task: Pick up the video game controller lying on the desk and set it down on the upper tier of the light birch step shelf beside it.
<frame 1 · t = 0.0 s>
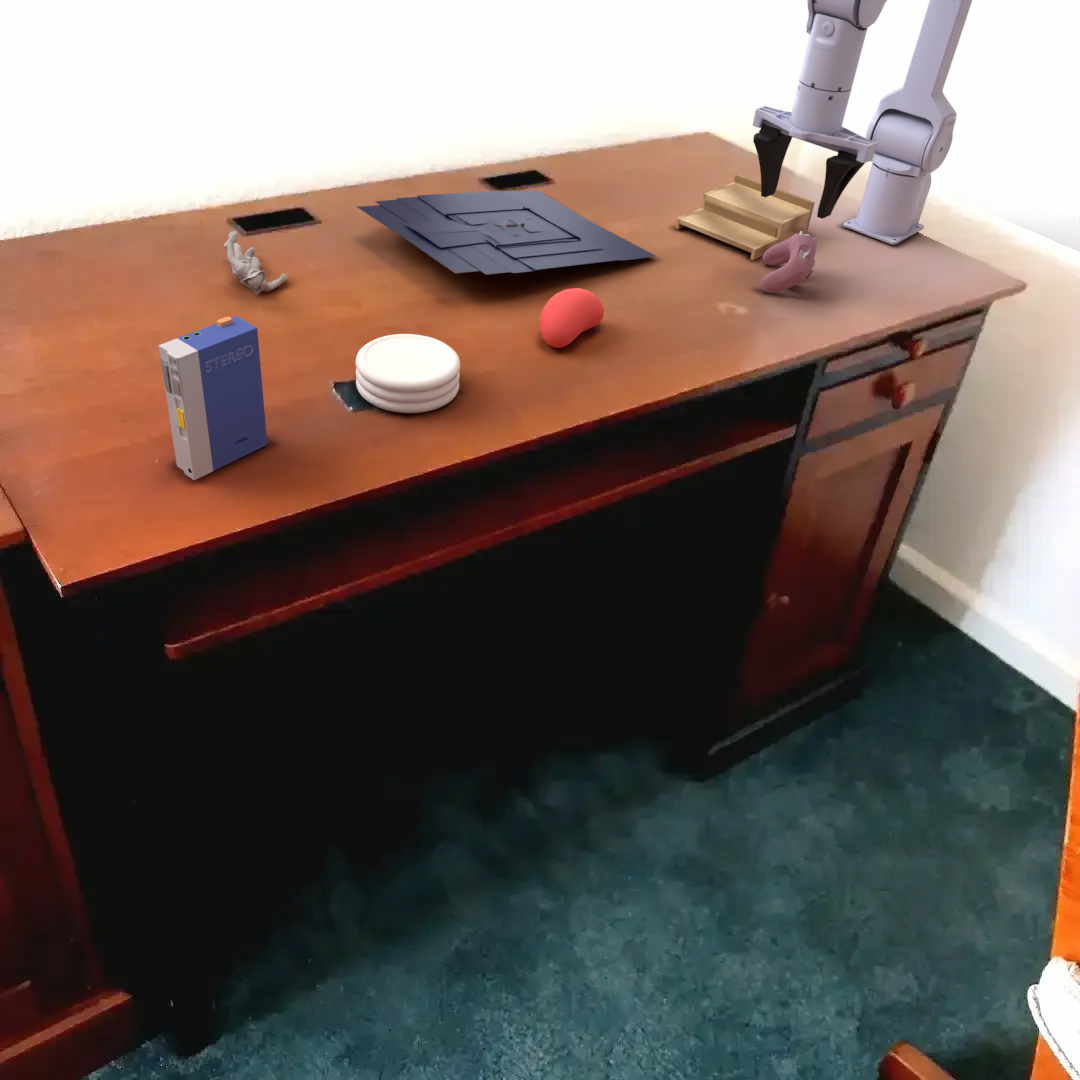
hand: (795, 205, 124), 10 cm above the table, tool pointing down, fingers open, 7 cm apart
coaster: (407, 390, 104), on the table
soldier figure: (249, 283, 118), on the table
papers: (503, 248, 132), on the table
step shelf: (741, 231, 143), on the table
red kidney bean: (568, 336, 116), on the table
video game controller: (782, 282, 131), on the table
walkman: (223, 457, 93), on the table
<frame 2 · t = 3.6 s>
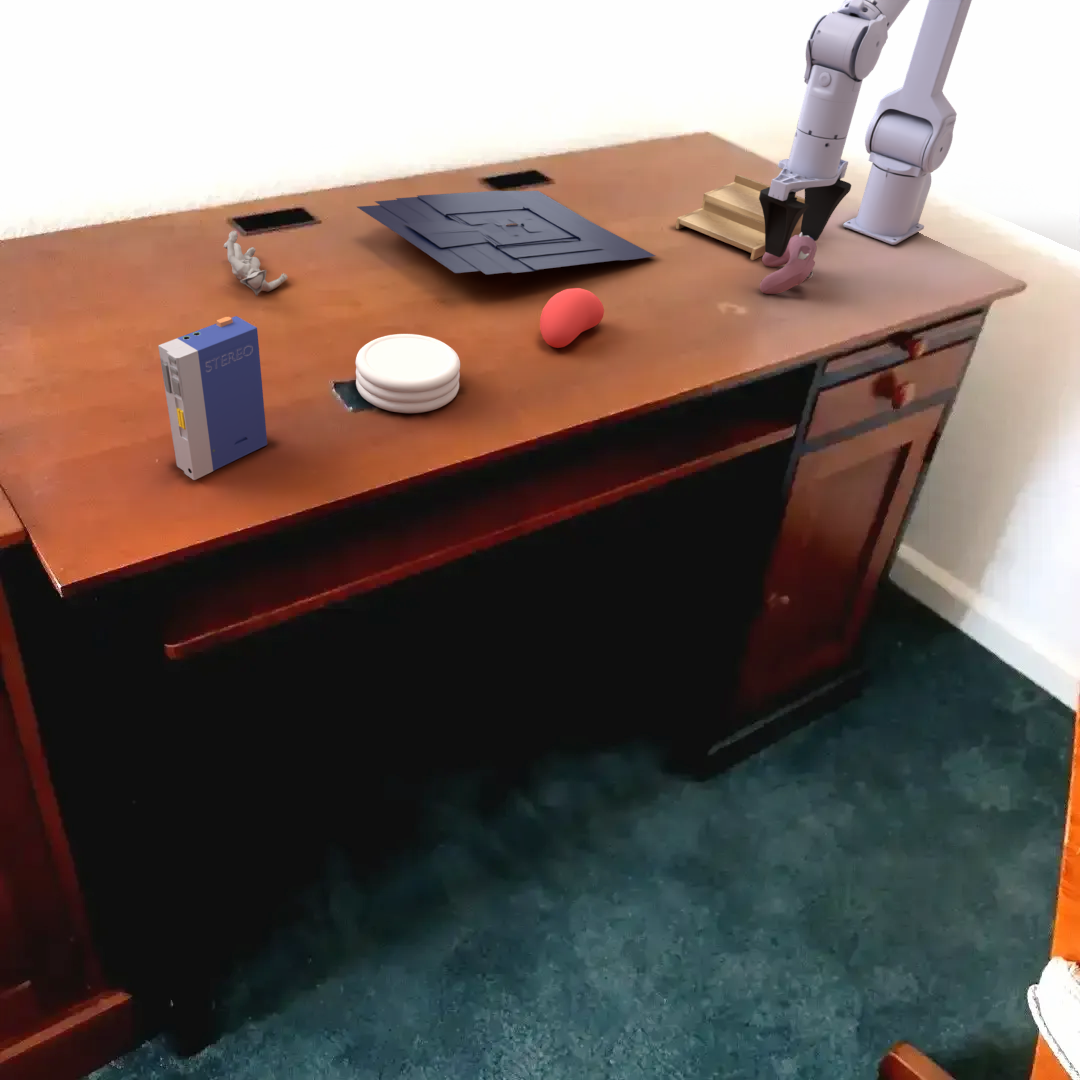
hand: (791, 246, 128), 5 cm above the table, tool pointing down, fingers open, 7 cm apart
video game controller: (782, 283, 131), on the table, touching gripper
everything else where it was.
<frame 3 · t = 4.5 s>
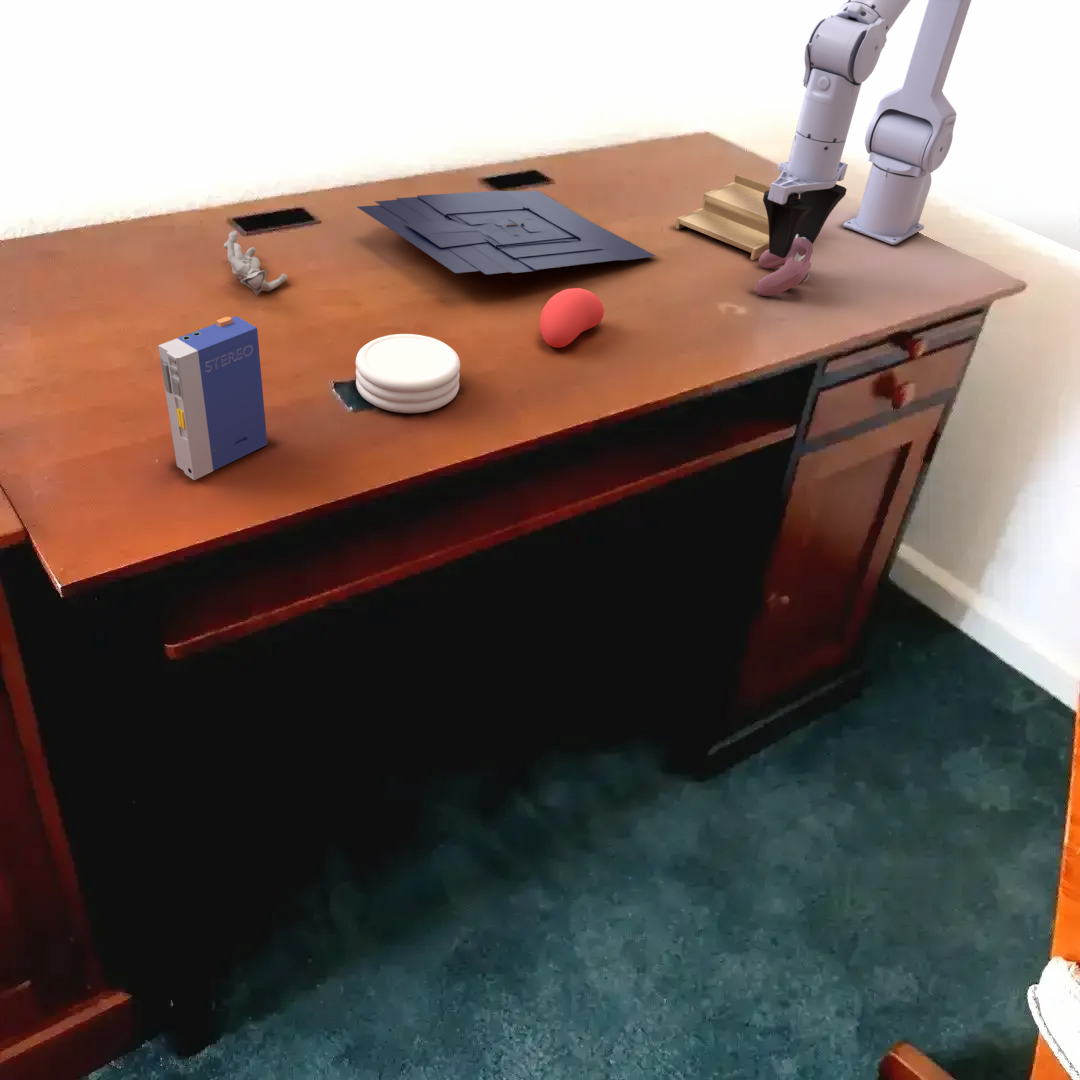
hand: (791, 248, 129), 4 cm above the table, tool pointing down, fingers closed on video game controller, 6 cm apart
video game controller: (778, 285, 131), on the table, touching gripper
everything else where it was.
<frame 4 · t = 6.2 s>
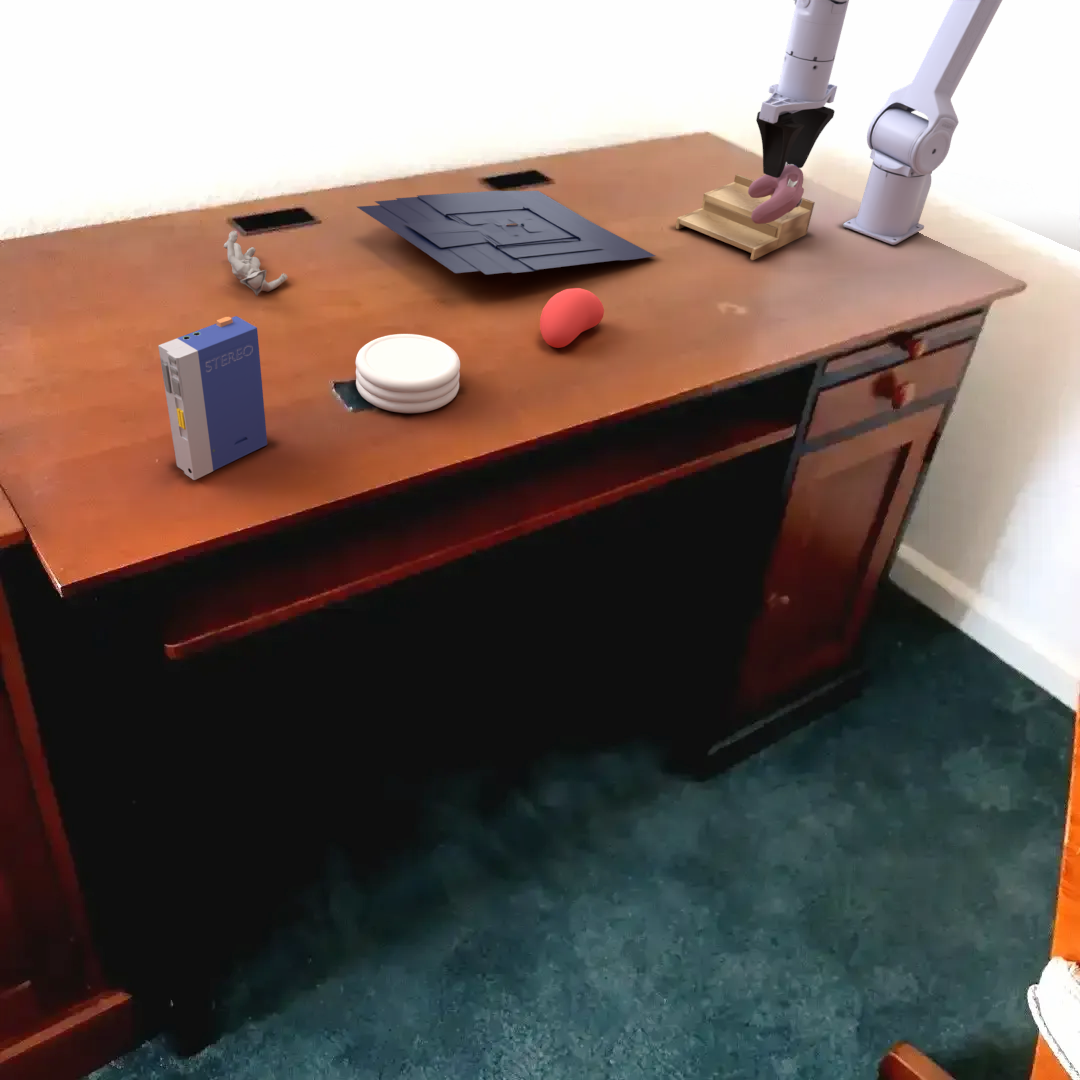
hand: (783, 170, 132), 10 cm above the table, tool pointing down, fingers closed on video game controller, 5 cm apart
video game controller: (771, 213, 134), point 5 cm above the table, touching gripper
everything else where it was.
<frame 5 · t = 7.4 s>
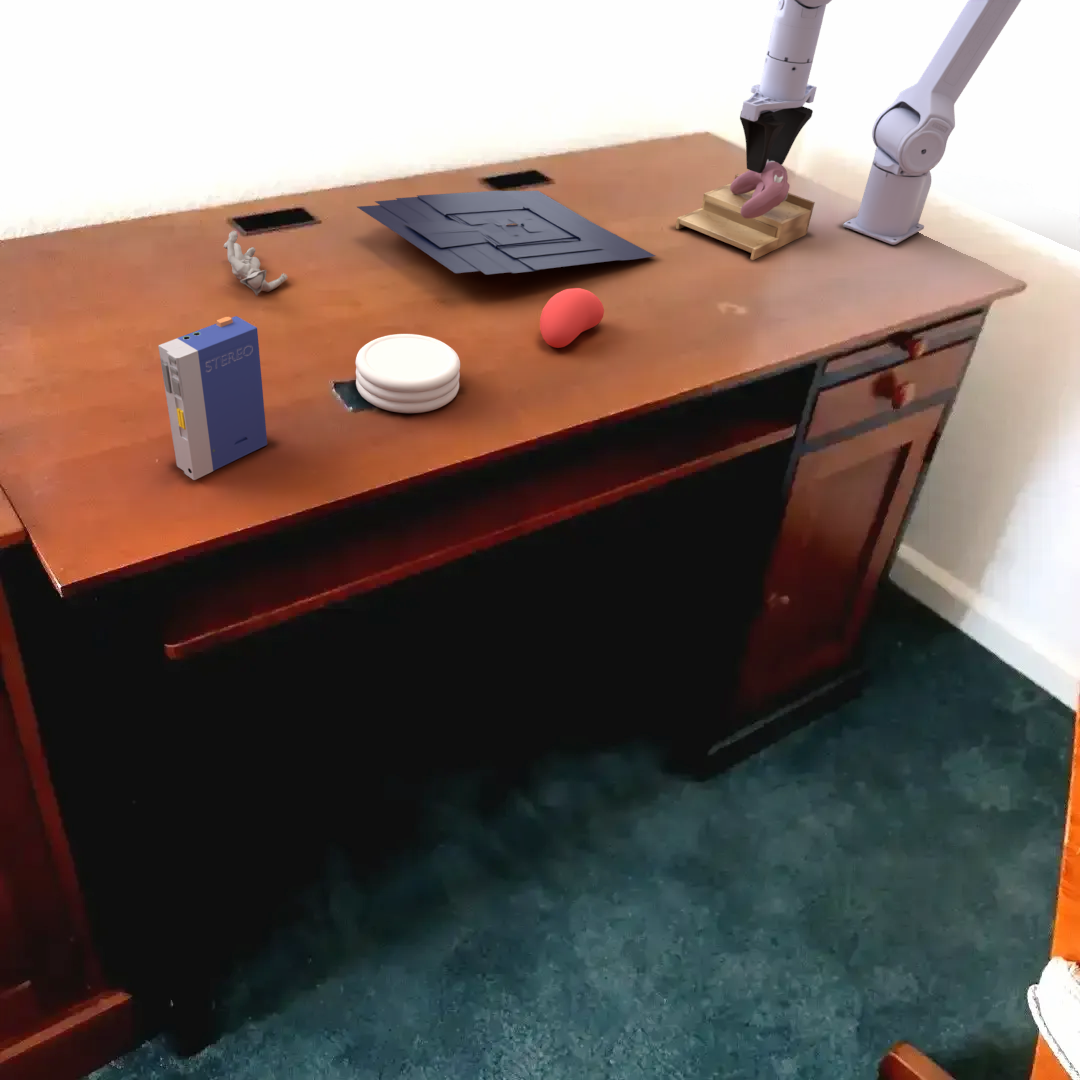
hand: (764, 166, 139), 8 cm above the table, tool pointing down, fingers closed on video game controller, 4 cm apart
video game controller: (755, 208, 140), point 3 cm above the table, touching gripper, step shelf
everything else where it was.
when the fingers open (8 cm above the table, at t = 7.7 s): video game controller stays where it is, resting on step shelf.
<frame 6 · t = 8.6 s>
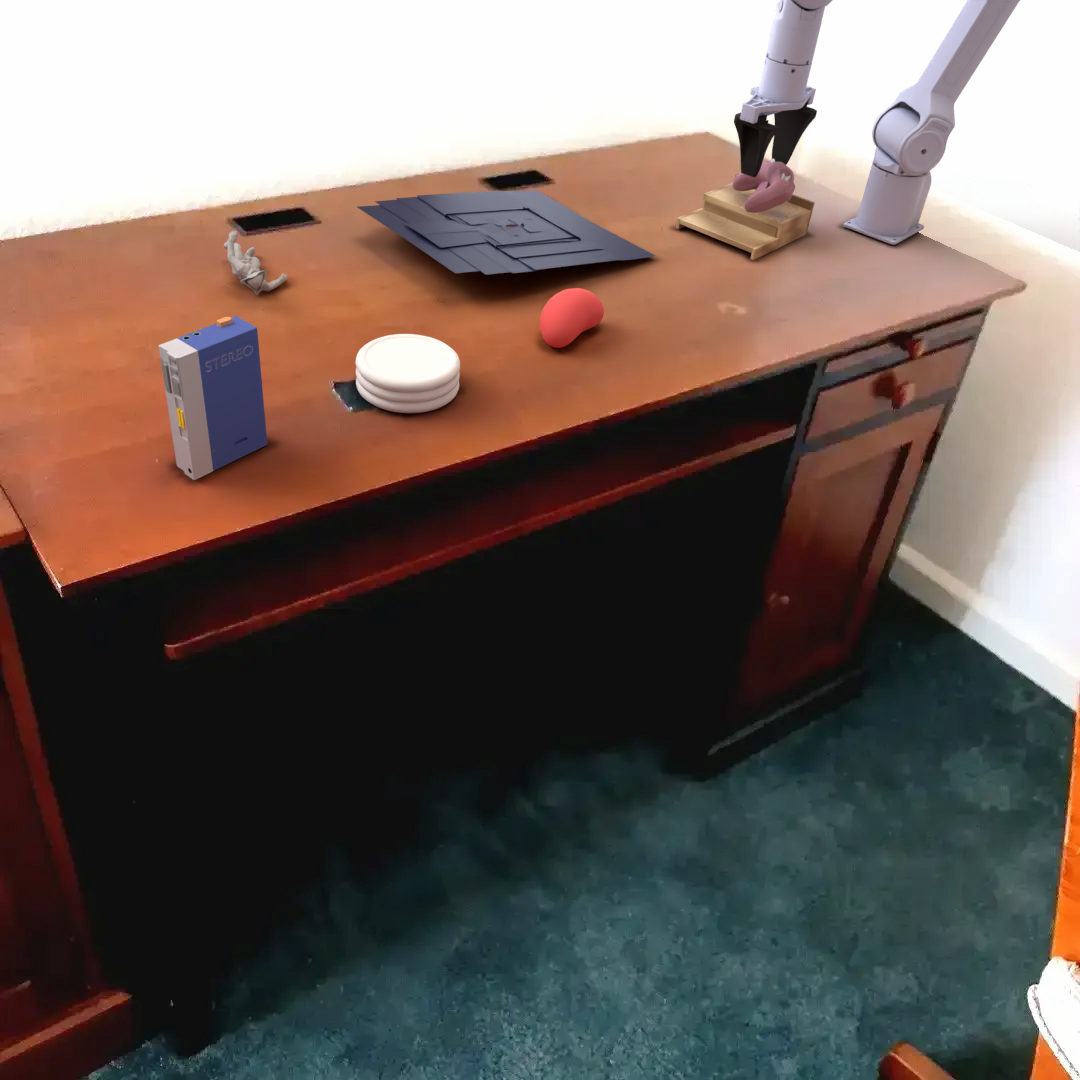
hand: (764, 168, 139), 8 cm above the table, tool pointing down, fingers open, 7 cm apart
video game controller: (756, 206, 140), point 4 cm above the table, touching gripper, step shelf
everything else where it was.
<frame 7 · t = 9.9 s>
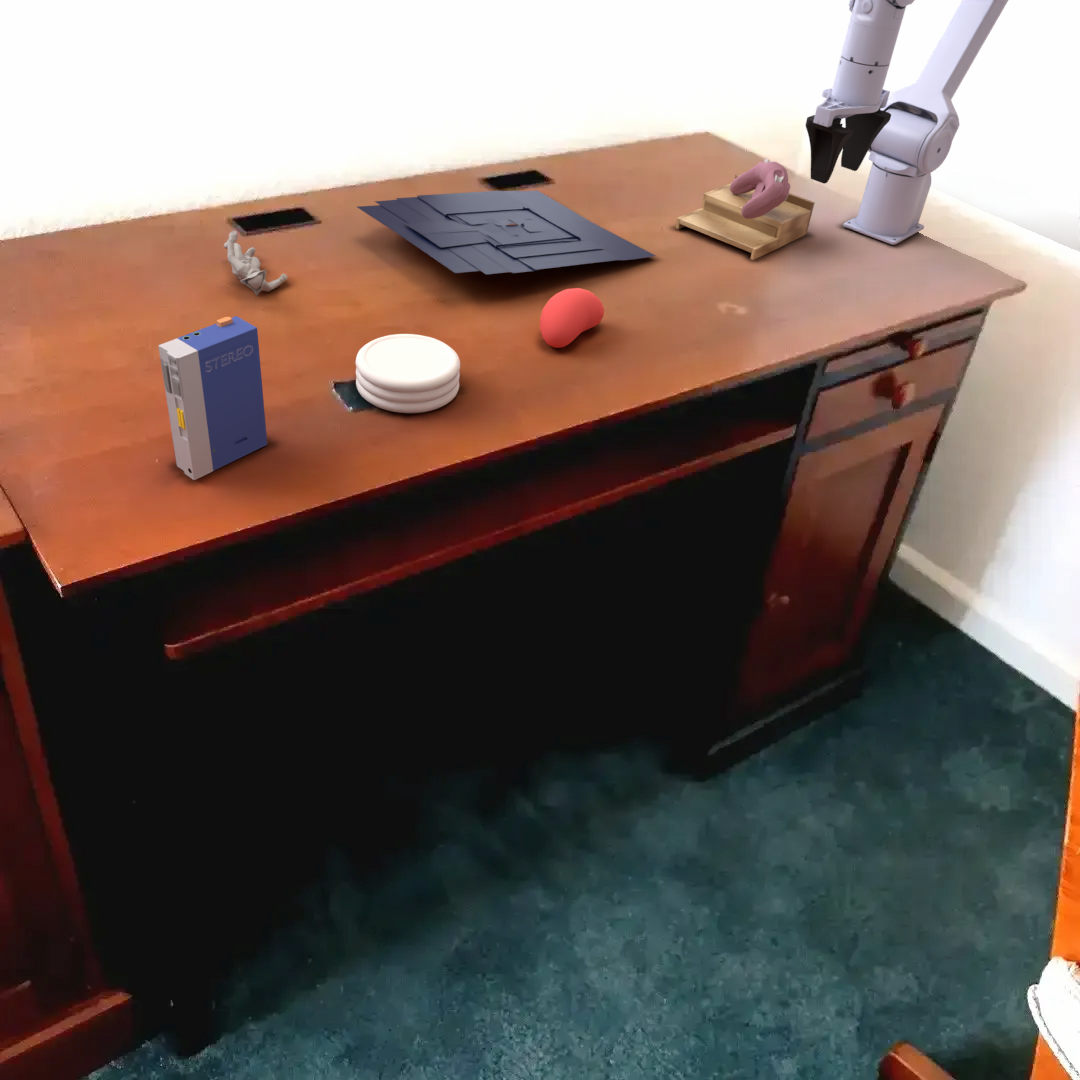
hand: (834, 174, 133), 10 cm above the table, tool pointing down, fingers open, 7 cm apart
video game controller: (755, 208, 140), point 3 cm above the table, touching step shelf
everything else where it was.
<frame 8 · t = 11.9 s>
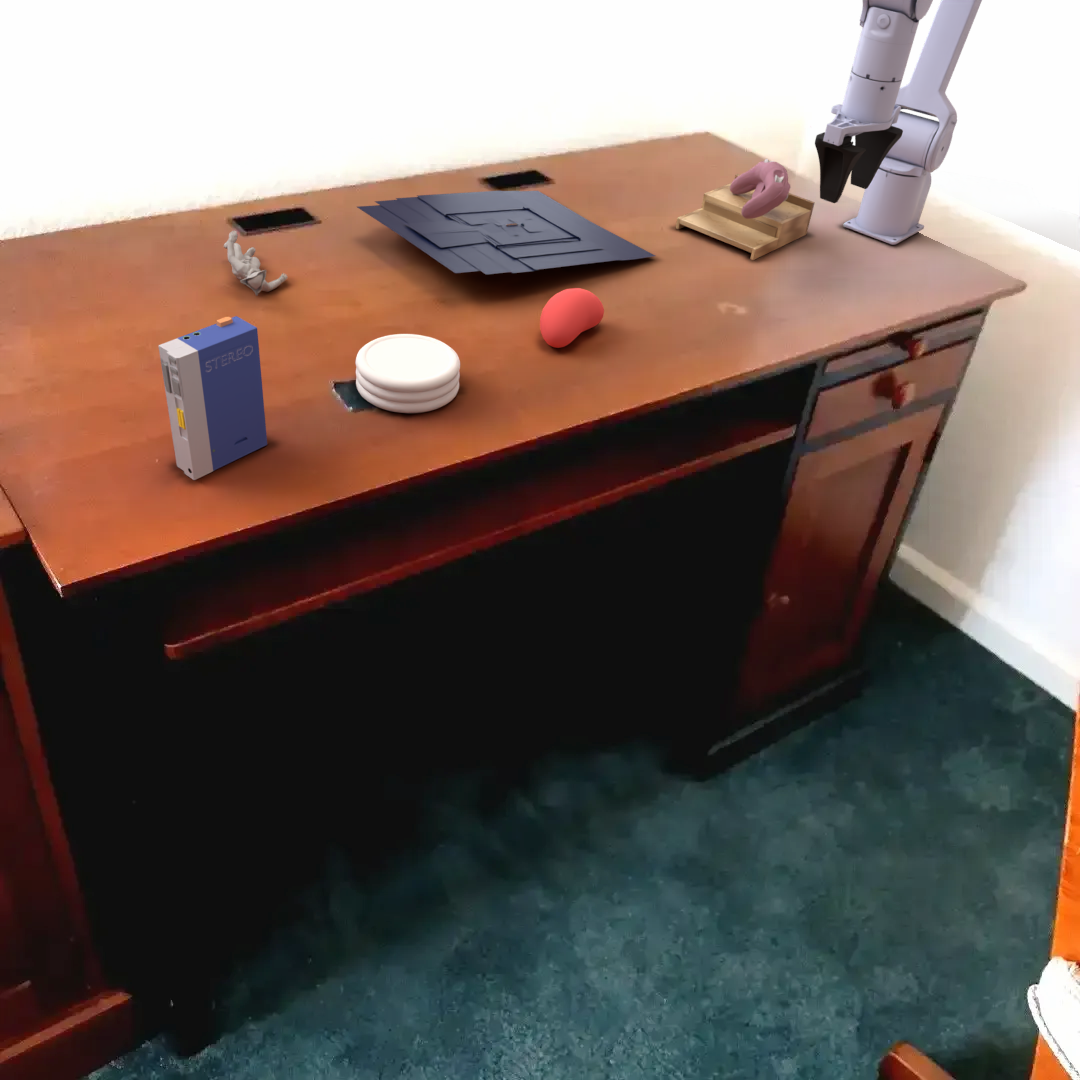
hand: (844, 193, 128), 10 cm above the table, tool pointing down, fingers open, 7 cm apart
nothing on the table moved.
at the end: video game controller inside the target area on the step shelf (1.9 cm from its centre), point 3.3 cm above the step shelf's base; video game controller tilted 0°; the gripper is holding nothing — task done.
